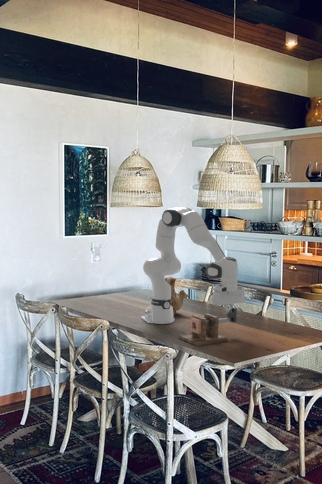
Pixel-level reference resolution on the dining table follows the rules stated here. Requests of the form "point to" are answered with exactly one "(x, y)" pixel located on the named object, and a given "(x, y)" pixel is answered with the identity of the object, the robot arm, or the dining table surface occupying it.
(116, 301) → the dining table surface
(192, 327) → the spacer
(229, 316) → the shaft
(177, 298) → the tan plush toy
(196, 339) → the stand
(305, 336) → the dining table surface
